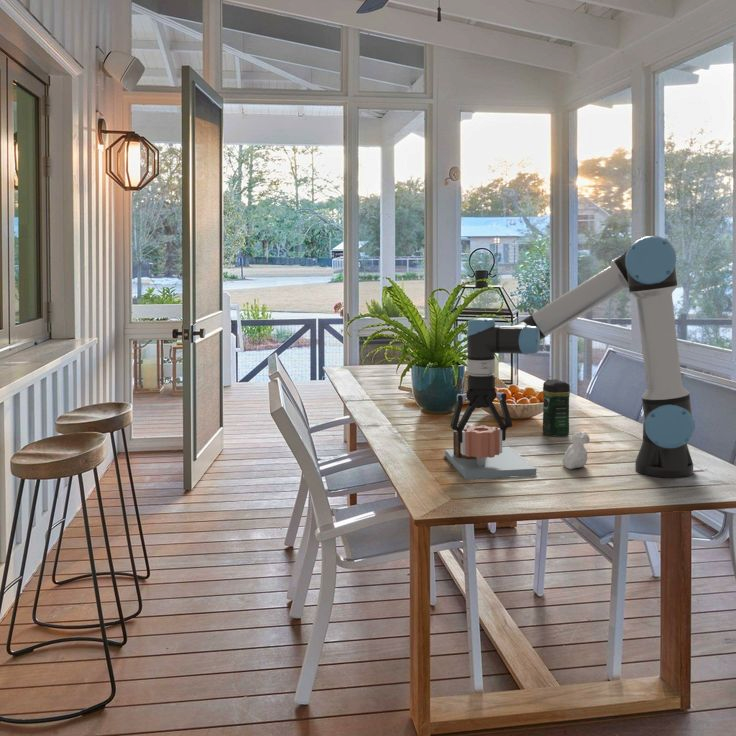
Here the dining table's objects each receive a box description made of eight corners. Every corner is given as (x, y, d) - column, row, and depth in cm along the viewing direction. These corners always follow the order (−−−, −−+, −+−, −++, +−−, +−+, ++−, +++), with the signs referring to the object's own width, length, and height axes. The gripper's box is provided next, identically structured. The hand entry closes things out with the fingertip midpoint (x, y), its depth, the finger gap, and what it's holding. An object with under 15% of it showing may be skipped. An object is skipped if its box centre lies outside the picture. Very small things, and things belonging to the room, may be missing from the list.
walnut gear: (491, 458, 230) (491, 434, 229) (458, 460, 229) (458, 436, 228) (482, 450, 239) (482, 427, 238) (450, 451, 238) (450, 429, 237)
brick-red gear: (493, 448, 227) (493, 424, 226) (503, 457, 218) (503, 432, 217) (460, 450, 226) (460, 426, 225) (468, 458, 216) (468, 433, 215)
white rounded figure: (577, 479, 221) (603, 449, 219) (555, 463, 222) (581, 432, 219) (574, 468, 233) (599, 439, 230) (553, 452, 233) (578, 423, 231)
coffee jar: (572, 436, 264) (573, 381, 261) (549, 437, 263) (550, 382, 260) (561, 430, 273) (562, 377, 271) (539, 431, 272) (539, 378, 270)
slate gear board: (536, 475, 218) (536, 436, 217) (465, 479, 216) (465, 439, 214) (508, 452, 244) (508, 417, 242) (445, 456, 242) (444, 420, 240)
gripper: (444, 377, 214) (445, 458, 217) (524, 374, 216) (524, 454, 219) (438, 373, 221) (439, 451, 224) (516, 370, 224) (516, 447, 227)
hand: (481, 453), depth 222 cm, fingers closed on brick-red gear, 10 cm apart
